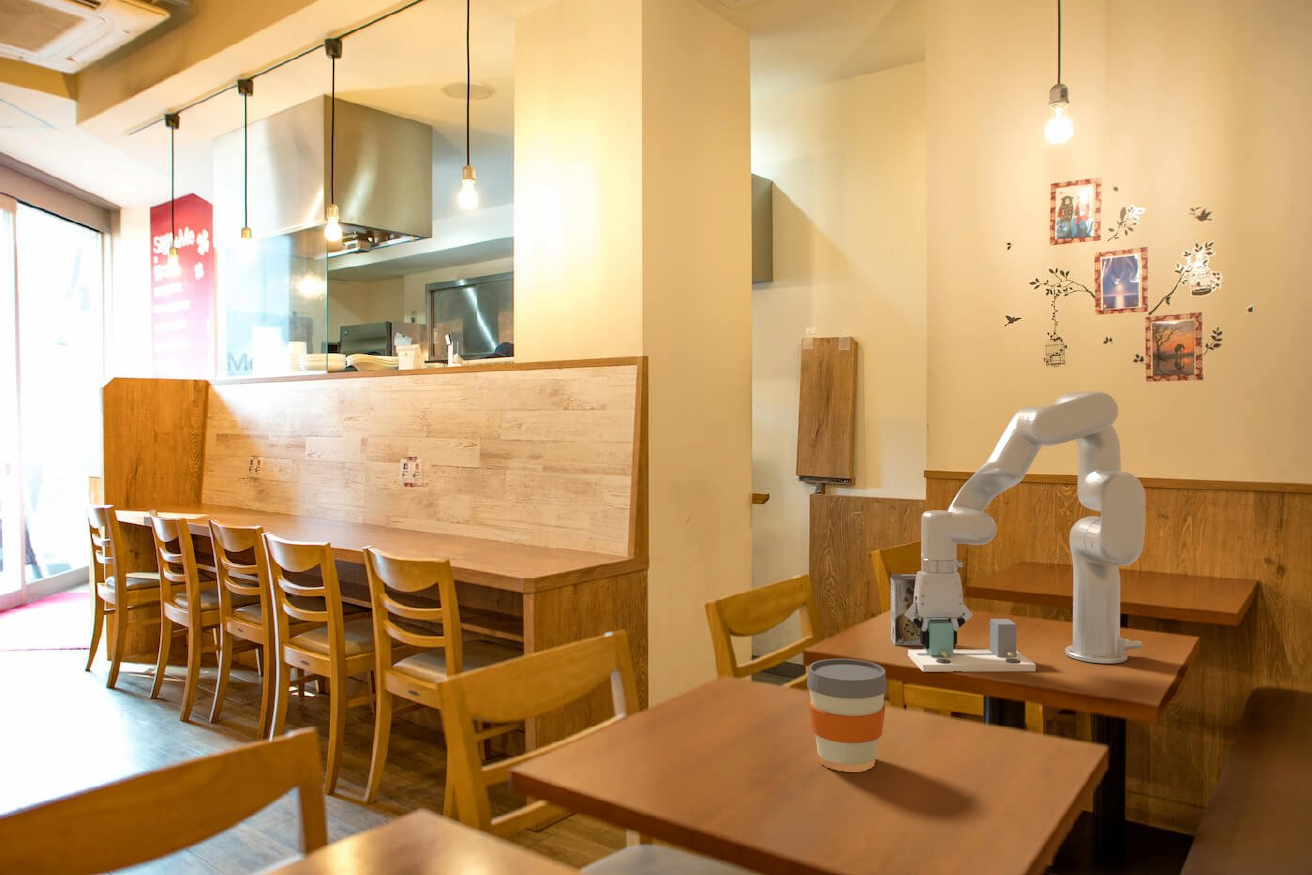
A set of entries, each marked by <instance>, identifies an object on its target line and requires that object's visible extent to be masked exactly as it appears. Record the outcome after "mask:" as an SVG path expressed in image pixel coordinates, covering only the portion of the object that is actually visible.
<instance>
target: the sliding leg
mask: <svg viewBox="0 0 1312 875" xmlns="http://www.w3.org/2000/svg"><path fill="white" fill-rule="evenodd" d="M927 628H928V631H929V649H925V648H924V647H923V650H925V651H927V652H928V653H929V654H930V655H943V656H944V657H947V656H948V655H953V650H954V649H953V623H952V622H951V621H949V620H948V618H930V621H929V624H928V627H927Z"/></svg>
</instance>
